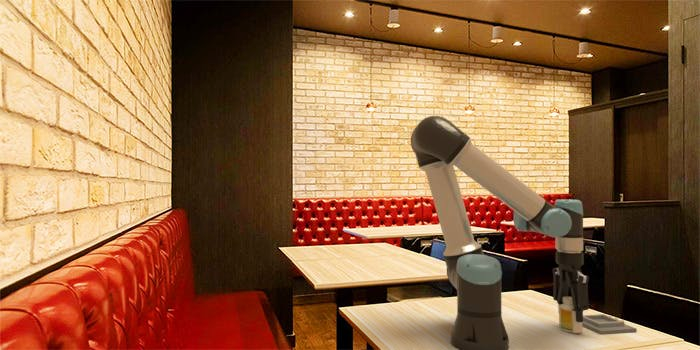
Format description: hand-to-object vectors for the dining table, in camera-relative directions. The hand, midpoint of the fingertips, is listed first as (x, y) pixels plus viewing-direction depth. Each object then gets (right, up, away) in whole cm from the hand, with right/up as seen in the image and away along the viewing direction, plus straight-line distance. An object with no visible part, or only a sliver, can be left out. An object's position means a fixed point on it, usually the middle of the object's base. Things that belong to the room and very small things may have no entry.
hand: (570, 329), depth 135 cm
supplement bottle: (0, -1, 0) cm, 1 cm away
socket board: (+11, 0, +4) cm, 12 cm away
